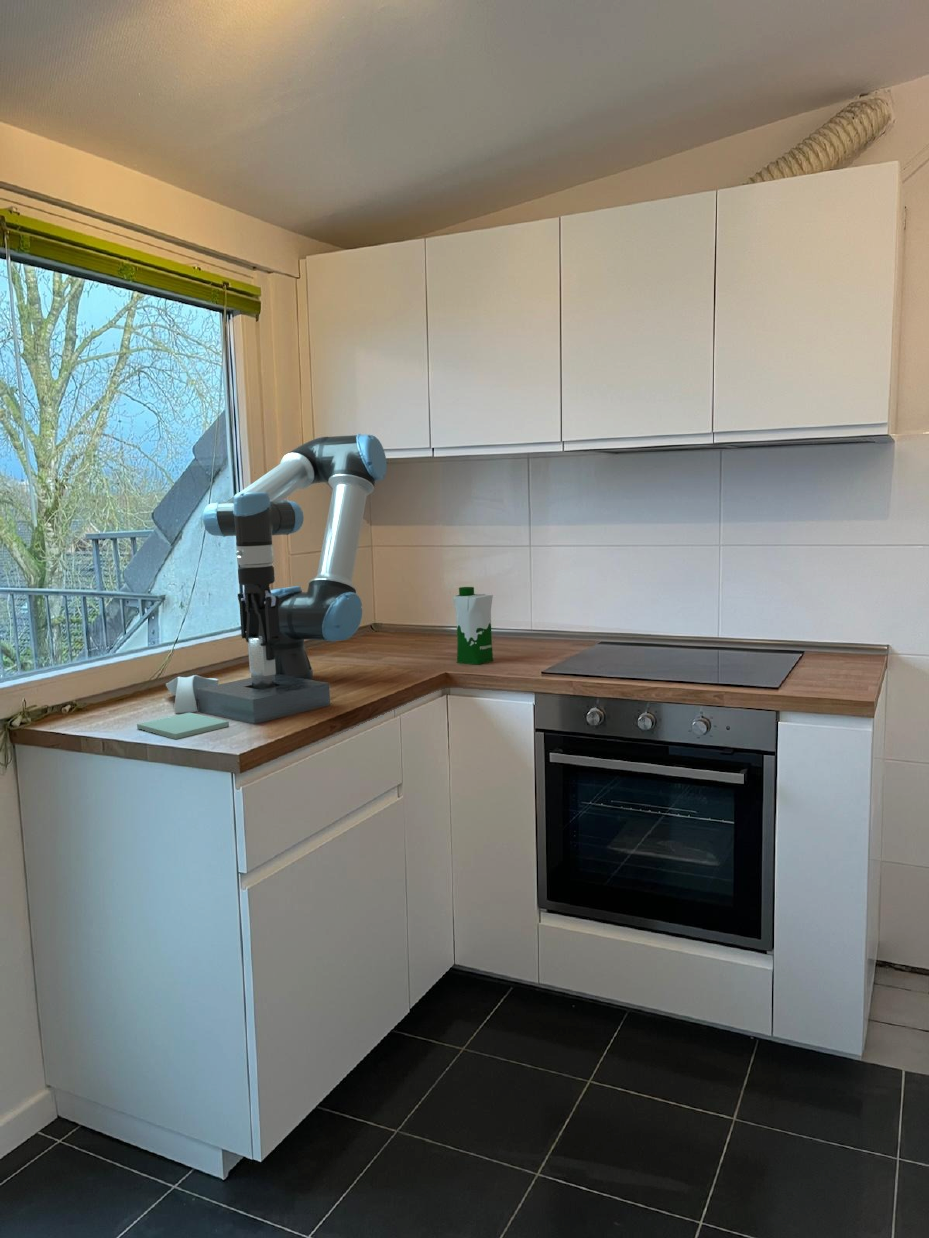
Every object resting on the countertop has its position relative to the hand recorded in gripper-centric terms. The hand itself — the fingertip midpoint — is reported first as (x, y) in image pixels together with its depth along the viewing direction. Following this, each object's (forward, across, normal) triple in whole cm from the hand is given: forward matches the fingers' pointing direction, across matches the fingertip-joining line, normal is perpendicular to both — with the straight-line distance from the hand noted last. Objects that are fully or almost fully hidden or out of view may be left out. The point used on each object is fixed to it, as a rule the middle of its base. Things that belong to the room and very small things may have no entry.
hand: (262, 672), depth 199 cm
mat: (+8, +3, -20) cm, 22 cm away
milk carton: (+8, -6, +67) cm, 67 cm away
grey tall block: (+6, 0, 0) cm, 6 cm away
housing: (+8, 0, 0) cm, 8 cm away
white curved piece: (+8, -19, -8) cm, 23 cm away
